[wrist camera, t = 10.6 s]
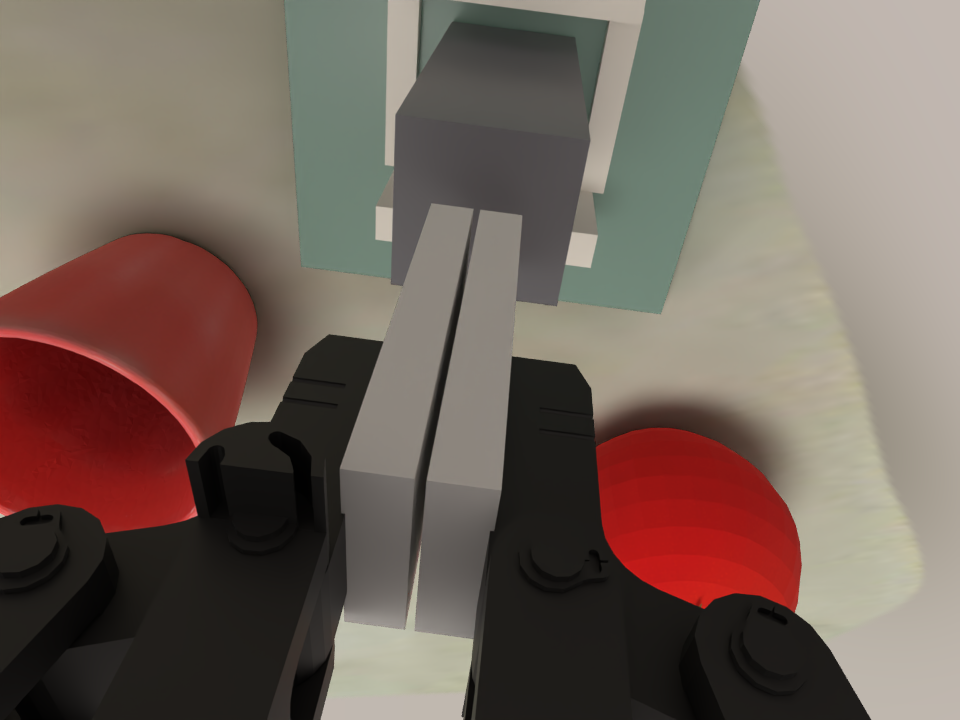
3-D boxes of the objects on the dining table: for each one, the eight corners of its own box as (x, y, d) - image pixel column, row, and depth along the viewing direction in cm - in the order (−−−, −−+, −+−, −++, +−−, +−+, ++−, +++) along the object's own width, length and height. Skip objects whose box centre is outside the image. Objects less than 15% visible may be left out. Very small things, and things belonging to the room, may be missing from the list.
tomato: (526, 399, 33) (519, 581, 25) (776, 382, 31) (860, 573, 23) (549, 553, 40) (549, 736, 32) (755, 546, 38) (813, 739, 30)
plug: (452, 21, 22) (395, 114, 14) (575, 37, 22) (590, 139, 14) (442, 160, 24) (390, 305, 16) (551, 174, 24) (552, 326, 16)
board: (274, -455, 17) (178, -565, 13) (862, -380, 17) (972, -465, 13) (311, 249, 29) (268, 319, 25) (656, 295, 29) (675, 373, 25)
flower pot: (303, 406, 35) (231, 564, 27) (93, 382, 35) (-39, 532, 27) (283, 215, 28) (182, 350, 20) (27, 187, 28) (-170, 309, 21)
